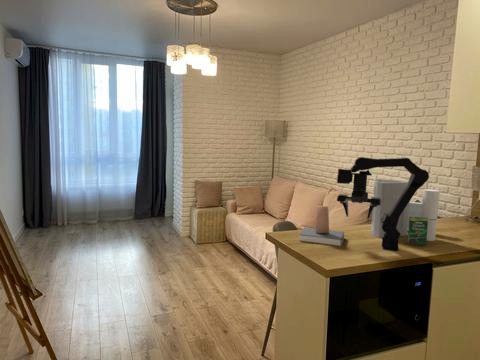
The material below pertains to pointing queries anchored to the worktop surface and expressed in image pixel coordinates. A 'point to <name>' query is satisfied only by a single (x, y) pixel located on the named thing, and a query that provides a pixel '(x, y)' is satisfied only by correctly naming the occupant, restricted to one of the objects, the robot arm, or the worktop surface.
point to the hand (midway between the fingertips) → (357, 217)
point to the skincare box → (414, 211)
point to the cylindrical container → (430, 211)
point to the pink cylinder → (322, 219)
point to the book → (322, 237)
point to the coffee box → (417, 230)
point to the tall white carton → (388, 205)
